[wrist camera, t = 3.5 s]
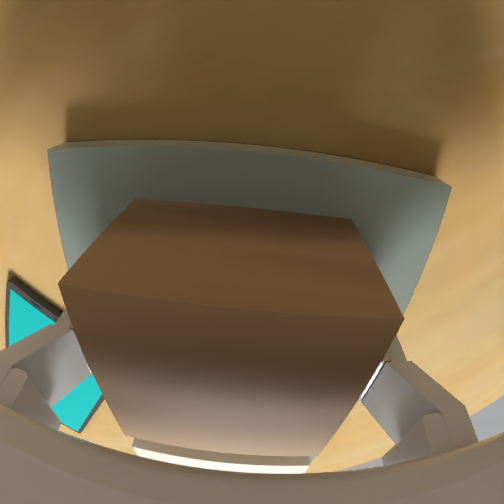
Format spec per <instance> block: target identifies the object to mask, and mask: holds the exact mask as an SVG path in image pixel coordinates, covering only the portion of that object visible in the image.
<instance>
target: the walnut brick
mask: <svg viewBox="0 0 504 504" xmlns="http://www.w3.org/2000/svg"><path fill="white" fill-rule="evenodd" d="M58 285H59V288H60V291H61V295H62V298H63V301H64V304H65V307H66V309H67V312H68V315H69V318H70V321H71V323H72V326H73V329H74V331H75V334H76V336H77V339H78V341H79V344H80V346H81V349H82V351H83V353H84V356H85V358H86V360H87V363H88V365H89V367H90V369H91V371H92V374H93V376H94V378H95V380H96V382H97V384H98V386H99V388H100V390H101V392H102V394H103V396H104V398H105V400H106V402H107V404H108V406H109V408H110V409H111V411H112V413H113V415H114V417H115V419H116V420H117V422H118V424H119V426H120V427H121V429H122V431H123V432H124V434H125V435H126V436H130V437H134V438H139V439H143V440H147V441H152V442H157V443H162V444H167V445H172V446H178V447H184V448H190V449H197V450H204V451H212V452H221V453H231V454H243V455H260V456H318V455H319V454H320V452H321V451H322V450H323V449H324V447H325V446H326V445H327V443H328V442H329V441H330V439H331V438H332V437H333V435H334V434H335V433H336V431H337V430H338V428H339V427H340V426H341V424H342V423H343V421H344V420H345V419H346V417H347V416H348V414H349V413H350V411H351V410H352V408H353V407H354V405H355V404H356V402H357V401H358V399H359V398H360V396H361V395H362V393H363V391H364V390H365V388H366V387H367V385H368V383H369V382H370V380H371V378H372V377H373V375H374V373H375V372H376V370H377V368H378V367H379V365H380V363H381V361H382V360H383V358H384V356H385V354H386V353H387V351H388V349H389V347H390V345H391V343H392V342H393V340H394V338H395V336H396V334H397V332H398V330H399V328H400V326H401V324H402V322H403V320H404V317H403V315H402V313H401V311H400V309H399V306H398V304H397V302H396V300H395V298H394V296H393V294H392V292H391V290H390V288H389V287H388V285H387V283H386V281H385V279H384V277H383V275H382V273H381V271H380V269H379V267H378V266H377V264H376V262H375V260H374V258H373V256H372V255H371V253H370V251H369V249H368V247H367V246H366V244H365V242H364V240H363V239H362V237H361V235H360V233H359V232H358V230H357V228H356V226H355V225H354V223H353V221H352V220H351V219H345V218H338V217H330V216H322V215H314V214H305V213H296V212H287V211H278V210H269V209H259V208H249V207H238V206H227V205H216V204H204V203H191V202H177V201H163V200H147V199H134V200H133V201H132V202H131V203H130V204H129V205H128V206H127V207H126V208H125V209H124V210H123V211H122V212H121V213H120V214H119V215H118V216H117V217H116V218H115V219H114V220H113V221H112V222H111V224H110V225H109V226H108V227H107V228H106V229H105V230H104V231H103V232H102V233H101V234H100V235H99V236H98V237H97V238H96V240H95V241H94V242H93V243H92V244H91V245H90V246H89V247H88V248H87V250H86V251H85V252H84V253H83V254H82V255H81V256H80V258H79V259H78V260H77V261H76V262H75V263H74V264H73V266H72V267H71V268H70V269H69V270H68V272H67V273H66V274H65V275H64V276H63V278H62V279H61V280H60V281H59V282H58Z"/></svg>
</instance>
